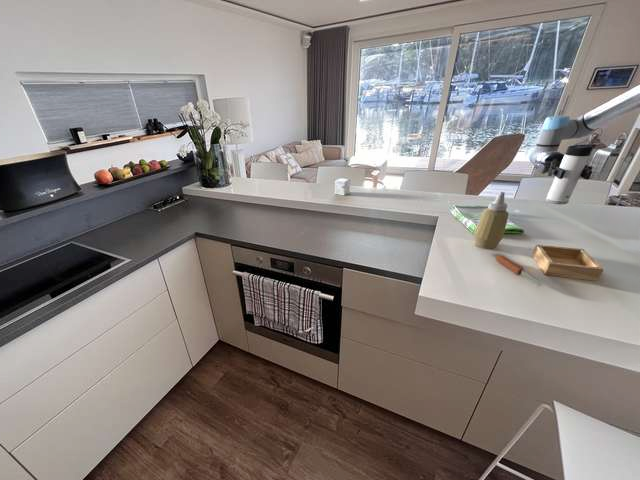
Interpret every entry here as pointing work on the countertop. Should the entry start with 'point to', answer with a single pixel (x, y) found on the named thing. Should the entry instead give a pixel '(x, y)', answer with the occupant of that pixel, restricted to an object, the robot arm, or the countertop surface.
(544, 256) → the wooden tray
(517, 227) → the dish towel
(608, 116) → the robot arm
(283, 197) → the countertop surface
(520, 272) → the kitchen knife
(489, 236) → the squeeze bottle
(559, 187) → the travel mug
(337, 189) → the product carton
